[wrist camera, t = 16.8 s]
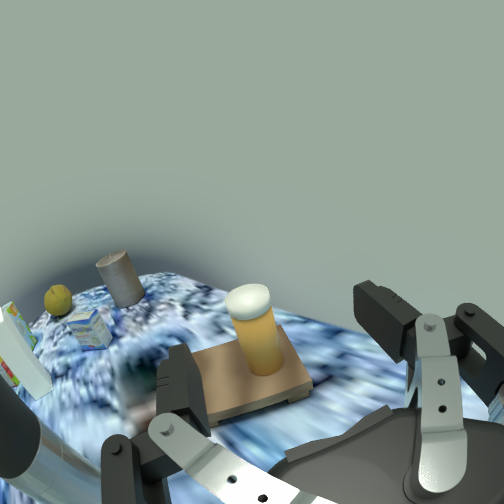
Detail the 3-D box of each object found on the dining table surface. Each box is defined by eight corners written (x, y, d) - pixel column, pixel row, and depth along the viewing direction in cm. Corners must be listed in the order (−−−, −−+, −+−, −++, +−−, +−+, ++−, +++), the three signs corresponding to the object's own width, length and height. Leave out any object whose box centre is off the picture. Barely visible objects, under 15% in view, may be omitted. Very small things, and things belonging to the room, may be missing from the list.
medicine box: (83, 351, 53) (65, 322, 49) (90, 339, 57) (73, 312, 53) (107, 349, 52) (88, 318, 49) (113, 337, 56) (96, 307, 53)
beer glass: (252, 381, 33) (228, 314, 29) (244, 356, 38) (221, 292, 33) (289, 368, 34) (274, 299, 29) (277, 345, 38) (261, 279, 34)
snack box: (27, 345, 59) (2, 305, 53) (38, 341, 60) (13, 300, 54) (7, 389, 40) (-27, 344, 34) (18, 386, 41) (-16, 339, 35)
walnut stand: (196, 433, 30) (184, 419, 29) (189, 372, 42) (180, 356, 41) (314, 396, 32) (312, 380, 31) (284, 341, 44) (280, 324, 43)
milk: (34, 386, 41) (-19, 309, 33) (51, 376, 45) (-1, 297, 36) (36, 401, 37) (-24, 319, 28) (54, 390, 40) (-5, 305, 32)
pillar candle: (138, 287, 79) (118, 243, 73) (150, 295, 72) (128, 247, 66) (113, 302, 73) (91, 258, 67) (122, 313, 66) (97, 264, 60)
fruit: (83, 301, 79) (70, 276, 75) (67, 321, 68) (52, 294, 64) (63, 305, 80) (51, 281, 76) (47, 324, 69) (33, 299, 65)
